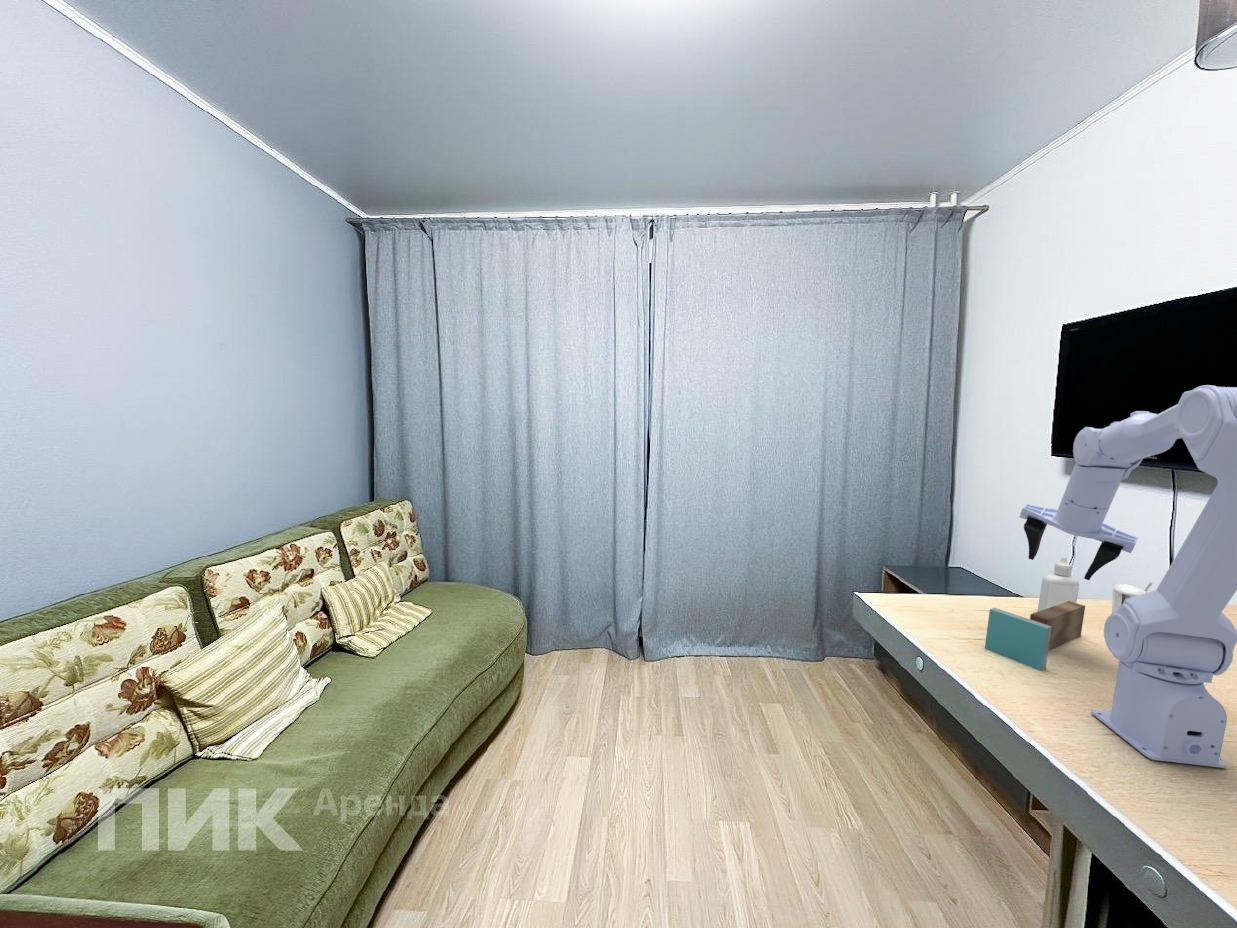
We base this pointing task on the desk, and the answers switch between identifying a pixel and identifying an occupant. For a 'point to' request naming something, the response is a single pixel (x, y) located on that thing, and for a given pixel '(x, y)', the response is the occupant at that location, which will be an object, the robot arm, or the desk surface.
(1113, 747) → the desk surface
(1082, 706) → the desk surface
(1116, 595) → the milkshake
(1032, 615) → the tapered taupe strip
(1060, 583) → the eye dropper bottle
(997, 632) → the tile
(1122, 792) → the desk surface
